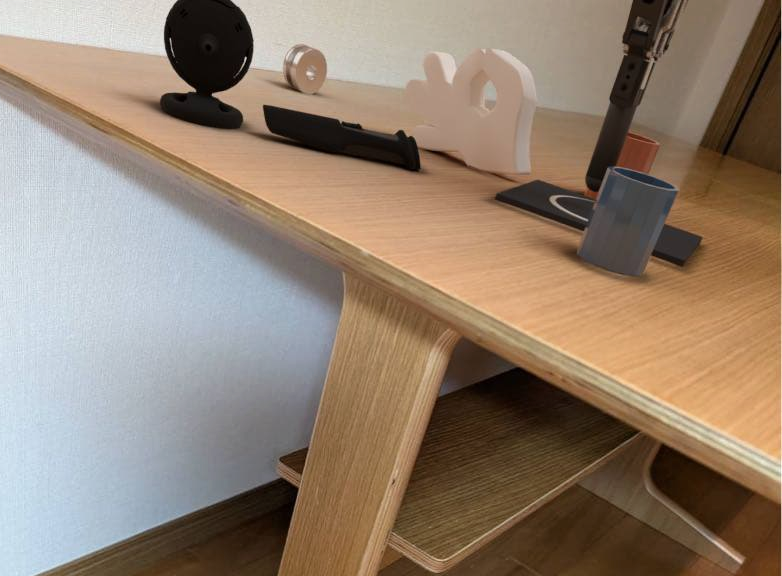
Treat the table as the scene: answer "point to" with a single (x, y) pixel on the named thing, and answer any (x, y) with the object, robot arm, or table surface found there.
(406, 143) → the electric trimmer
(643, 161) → the pen pot
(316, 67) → the metal grooved wheel
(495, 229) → the table surface
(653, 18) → the robot arm
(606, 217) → the pen cup
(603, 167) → the rod
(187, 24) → the webcam
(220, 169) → the table surface
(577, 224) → the drawing pad
